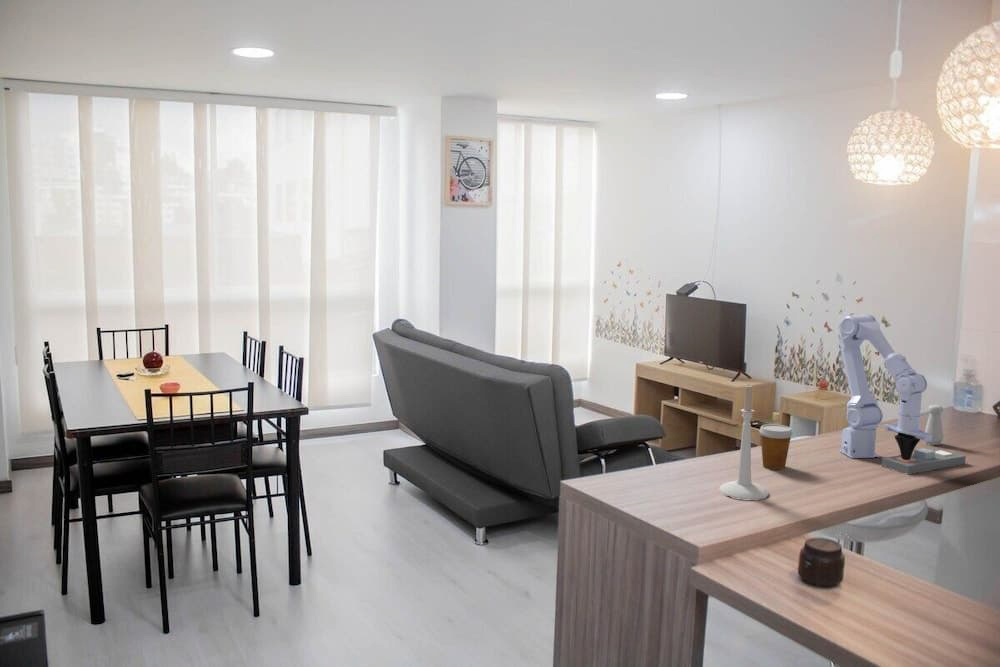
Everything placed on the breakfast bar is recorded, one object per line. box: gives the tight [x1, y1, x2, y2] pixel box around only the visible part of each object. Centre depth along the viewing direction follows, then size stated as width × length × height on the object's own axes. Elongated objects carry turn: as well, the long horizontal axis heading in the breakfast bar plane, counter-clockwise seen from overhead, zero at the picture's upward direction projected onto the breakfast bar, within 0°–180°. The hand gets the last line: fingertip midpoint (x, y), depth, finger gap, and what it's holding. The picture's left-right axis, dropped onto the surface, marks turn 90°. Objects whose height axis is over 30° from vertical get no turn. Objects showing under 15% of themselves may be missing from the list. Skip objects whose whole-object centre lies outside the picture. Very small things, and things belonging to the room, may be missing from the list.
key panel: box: [881, 448, 967, 475], centre depth 251 cm, size 25×9×2 cm, turn 115°
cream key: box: [935, 450, 953, 457], centre depth 254 cm, size 4×4×2 cm
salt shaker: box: [924, 404, 944, 446], centre depth 273 cm, size 6×6×13 cm
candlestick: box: [718, 384, 769, 501], centre depth 224 cm, size 13×13×30 cm
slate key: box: [913, 447, 935, 460], centre depth 251 cm, size 4×4×2 cm
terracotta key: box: [895, 457, 916, 463], centre depth 248 cm, size 4×4×2 cm
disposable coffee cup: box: [758, 423, 794, 470], centre depth 248 cm, size 10×10×12 cm
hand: (905, 459), depth 247 cm, fingers closed, pressing on terracotta key
